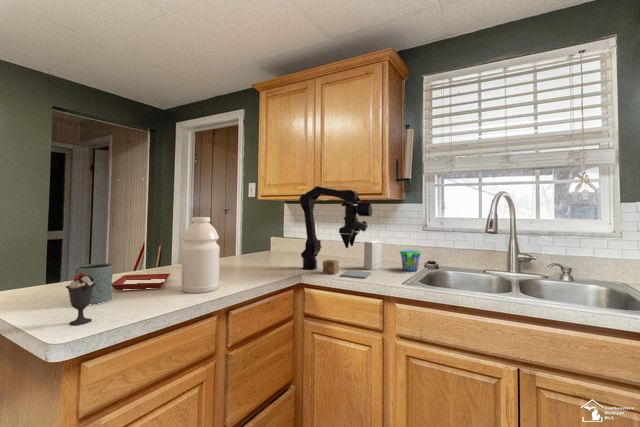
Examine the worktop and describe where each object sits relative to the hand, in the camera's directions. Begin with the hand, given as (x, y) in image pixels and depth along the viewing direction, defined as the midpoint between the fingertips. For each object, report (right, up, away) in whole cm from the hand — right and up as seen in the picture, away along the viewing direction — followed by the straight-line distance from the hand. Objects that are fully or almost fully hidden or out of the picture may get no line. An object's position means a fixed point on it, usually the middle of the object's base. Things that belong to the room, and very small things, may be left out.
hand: (349, 246), depth 155 cm
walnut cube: (-9, -13, 0) cm, 16 cm away
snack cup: (+33, -14, +9) cm, 37 cm away
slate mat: (+3, -13, -5) cm, 14 cm away
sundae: (-80, -13, -70) cm, 107 cm away
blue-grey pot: (-90, -13, -52) cm, 104 cm away
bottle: (-61, -13, -34) cm, 71 cm away
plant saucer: (-86, -13, -29) cm, 92 cm away
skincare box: (+14, -13, +12) cm, 23 cm away
